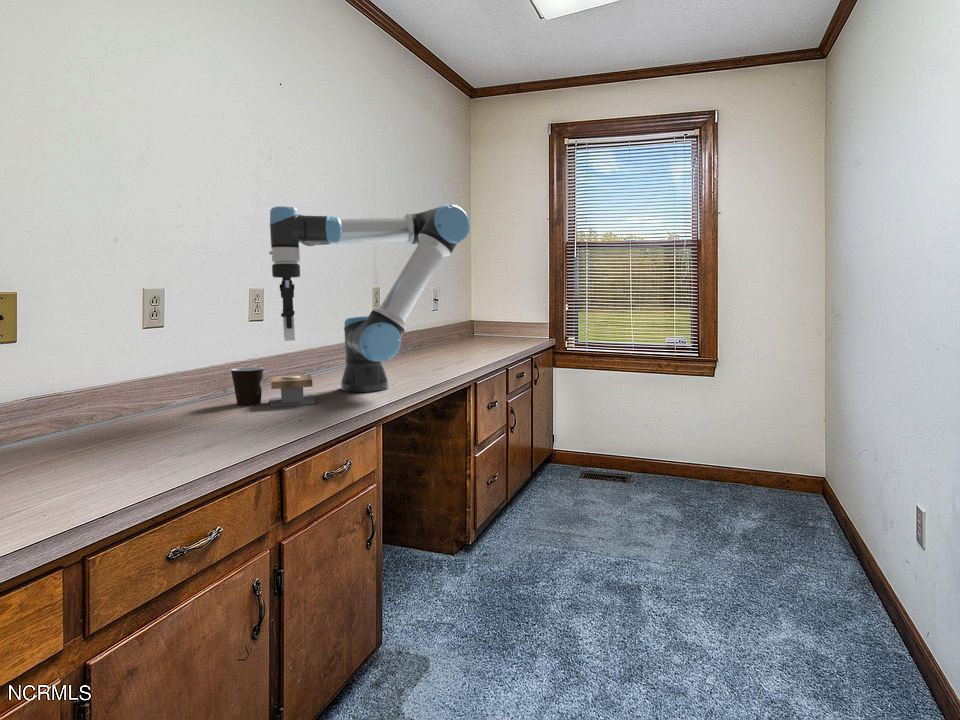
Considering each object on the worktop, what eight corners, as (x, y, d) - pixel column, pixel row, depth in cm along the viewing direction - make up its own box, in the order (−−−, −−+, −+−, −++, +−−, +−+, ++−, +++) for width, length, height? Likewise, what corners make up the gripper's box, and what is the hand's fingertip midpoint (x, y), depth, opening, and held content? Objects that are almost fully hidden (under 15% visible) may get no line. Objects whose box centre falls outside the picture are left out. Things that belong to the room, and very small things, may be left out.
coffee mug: (254, 406, 179) (252, 371, 178) (226, 405, 180) (224, 370, 179) (275, 399, 190) (274, 365, 189) (249, 398, 192) (247, 365, 191)
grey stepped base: (312, 397, 193) (312, 380, 192) (315, 404, 181) (314, 386, 181) (270, 399, 189) (269, 383, 189) (270, 407, 178) (269, 389, 177)
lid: (310, 381, 192) (310, 373, 191) (312, 386, 181) (312, 378, 181) (271, 383, 188) (271, 375, 188) (271, 388, 178) (271, 380, 178)
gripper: (272, 264, 191) (275, 335, 194) (271, 261, 168) (275, 342, 170) (298, 264, 194) (301, 335, 196) (301, 261, 170) (304, 341, 173)
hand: (289, 338), depth 183 cm, fingers open, 13 cm apart
